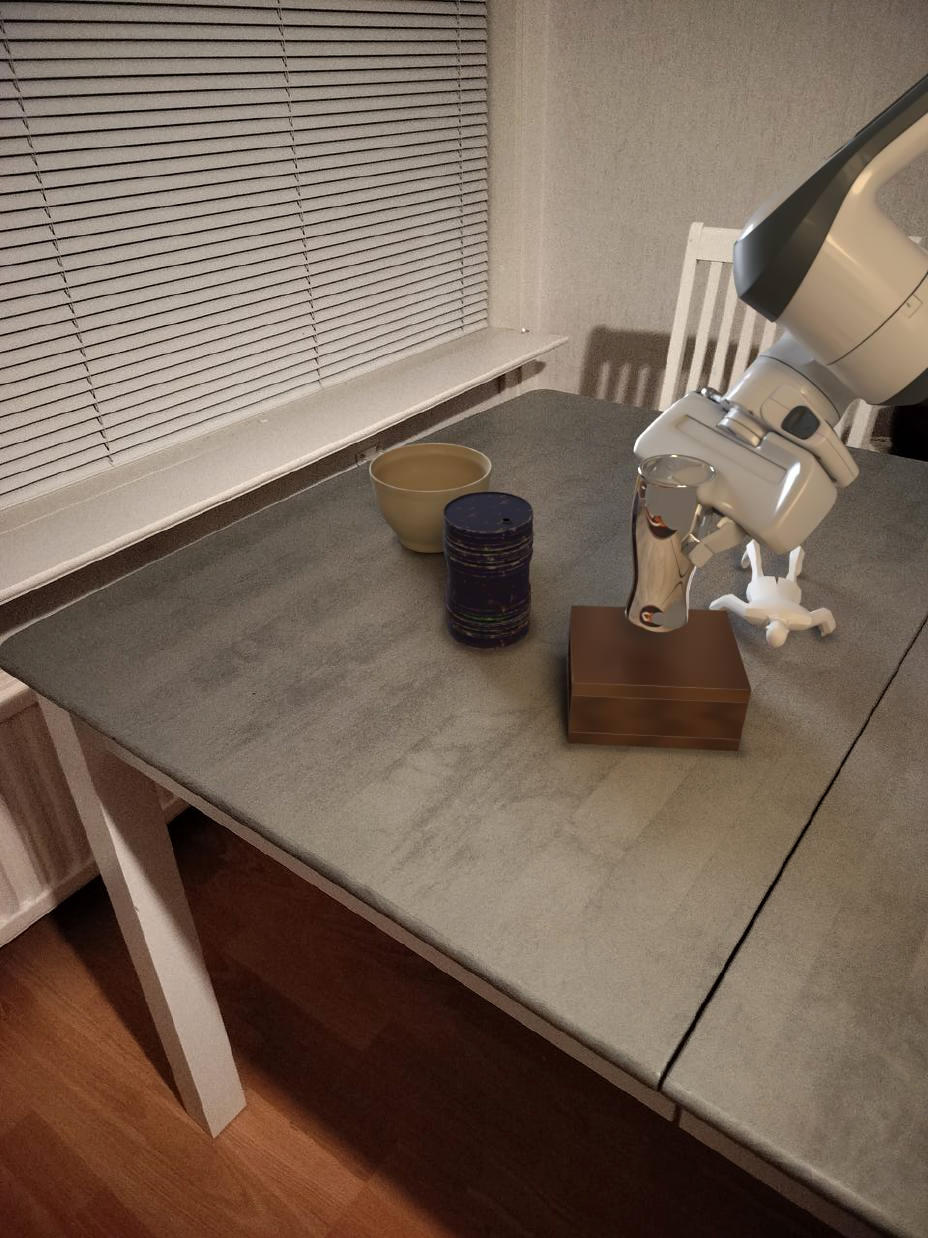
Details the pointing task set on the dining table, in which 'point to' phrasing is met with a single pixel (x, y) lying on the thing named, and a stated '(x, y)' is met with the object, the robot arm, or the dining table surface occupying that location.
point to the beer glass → (665, 541)
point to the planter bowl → (425, 488)
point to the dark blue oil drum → (488, 568)
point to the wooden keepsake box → (654, 682)
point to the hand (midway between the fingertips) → (662, 540)
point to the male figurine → (775, 600)
